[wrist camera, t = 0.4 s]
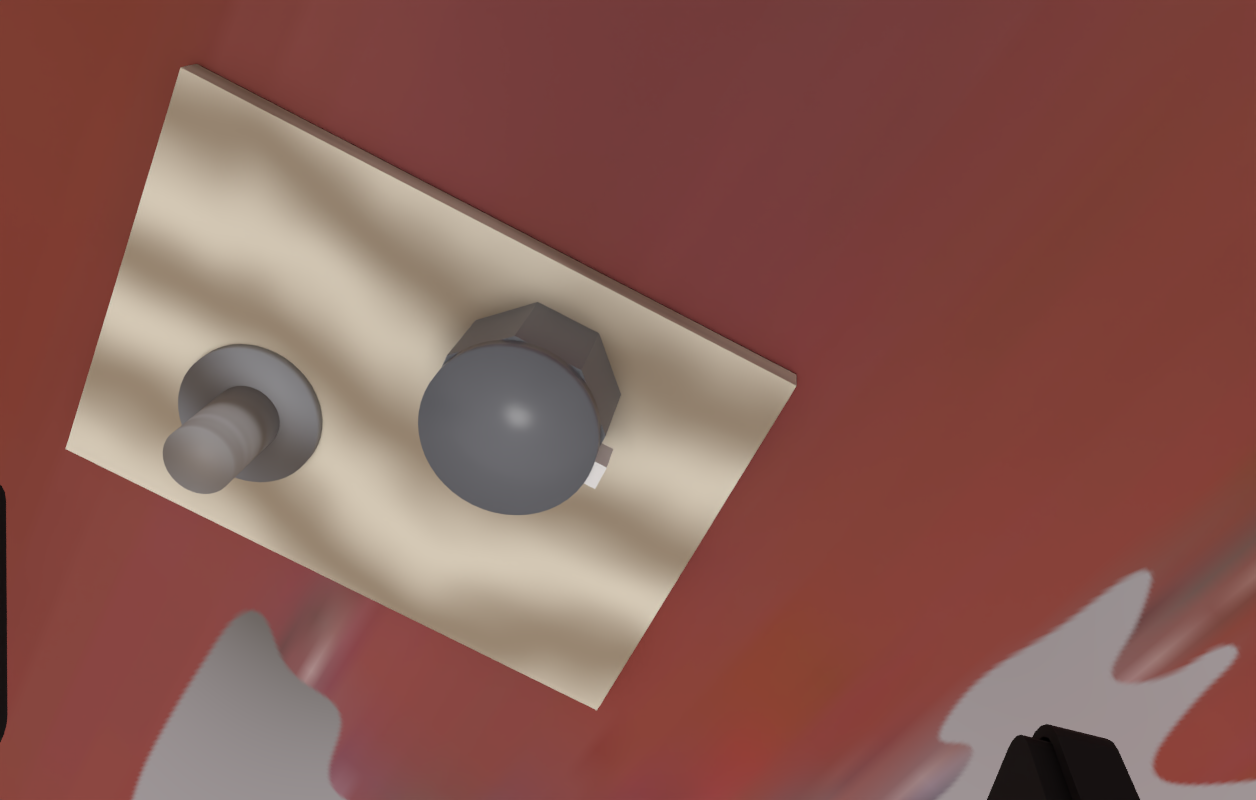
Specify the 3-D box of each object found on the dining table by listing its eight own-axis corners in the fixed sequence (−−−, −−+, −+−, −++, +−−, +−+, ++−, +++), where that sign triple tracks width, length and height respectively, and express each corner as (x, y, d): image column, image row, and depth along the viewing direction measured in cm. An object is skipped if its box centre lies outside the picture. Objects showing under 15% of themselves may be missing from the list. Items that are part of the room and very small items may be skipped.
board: (196, 63, 43) (108, 83, 37) (796, 374, 44) (797, 436, 39) (81, 437, 50) (-7, 499, 44) (601, 693, 51) (578, 784, 46)
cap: (493, 276, 43) (459, 315, 39) (655, 359, 44) (640, 407, 39) (430, 413, 46) (391, 464, 41) (584, 490, 46) (562, 549, 42)
